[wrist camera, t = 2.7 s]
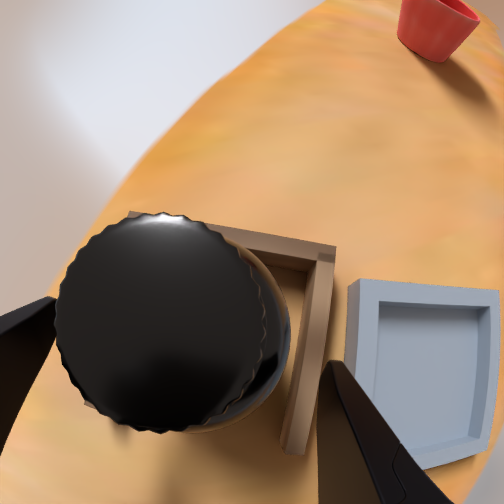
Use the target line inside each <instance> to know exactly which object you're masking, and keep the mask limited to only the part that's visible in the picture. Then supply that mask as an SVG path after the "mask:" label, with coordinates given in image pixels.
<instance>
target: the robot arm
mask: <svg viewBox="0 0 504 504" xmlns="http://www.w3.org/2000/svg"><path fill="white" fill-rule="evenodd" d="M56 301H57V299H56V298H53V297H50V296H47V297H44V298H42V299H40V300H37V301H35V302H32V303H30V304H28V305H25V306H23V307H21V308H18V309H16V310H14V311H11V312H9V313H7V314H4V315H2V316H0V456H1V453H2V451H3V448H4V445H5V443H6V440H7V438H8V436H9V433H10V431H11V429H12V426H13V424H14V422H15V420H16V417H17V415H18V413H19V411H20V409H21V407H22V405H23V403H24V401H25V398H26V396H27V394H28V392H29V390H30V388H31V387H32V385H33V383H34V381H35V379H36V377H37V375H38V373H39V371H40V369H41V368H42V366H43V364H44V362H45V360H46V358H47V356H48V354H49V352H50V350H51V347H52V345H53V343H54V341H55V338H56V336H57V333H56V330H55V327H54V321H55V317H56V309H55V304H56ZM316 430H317V456H318V504H454V503H453V502H452V501H451V500H450V499H449V498H447V496H446V495H445V494H444V493H443V492H442V491H441V490H440V489H439V488H438V487H437V486H436V484H435V483H434V482H433V481H432V480H431V479H430V478H429V477H428V476H427V475H426V473H425V472H424V471H423V470H422V469H421V468H420V466H419V465H418V464H417V463H416V462H415V460H414V459H413V458H412V456H411V455H410V454H409V452H408V451H407V450H406V448H405V447H404V445H403V444H402V443H400V440H399V439H398V437H397V436H396V434H395V433H394V432H393V430H392V429H391V428H390V426H389V425H388V423H387V422H386V421H385V419H384V418H383V416H382V415H381V414H380V412H379V411H378V410H377V408H376V407H375V405H374V404H373V403H372V401H371V400H370V398H369V397H368V396H367V394H366V393H365V392H364V390H363V389H362V387H361V386H360V385H359V383H358V382H357V381H356V379H355V378H354V376H353V375H352V374H351V372H350V371H349V370H348V368H347V367H346V365H345V364H344V363H343V362H342V361H338V360H329V361H328V362H327V364H326V366H325V369H324V371H323V373H322V375H321V377H320V381H319V395H318V410H317V424H316Z"/></svg>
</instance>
